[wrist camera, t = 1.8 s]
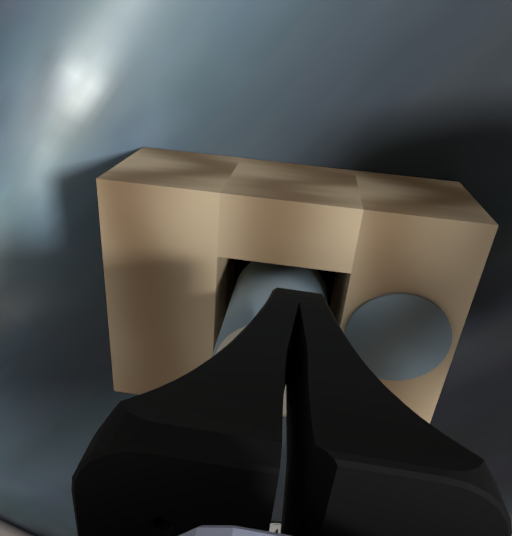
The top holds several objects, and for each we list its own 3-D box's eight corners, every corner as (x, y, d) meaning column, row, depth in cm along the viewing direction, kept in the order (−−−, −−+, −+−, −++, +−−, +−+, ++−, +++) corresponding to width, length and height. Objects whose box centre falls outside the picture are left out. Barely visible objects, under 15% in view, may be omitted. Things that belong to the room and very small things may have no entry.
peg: (333, 260, 19) (338, 332, 15) (320, 338, 21) (319, 424, 16) (238, 248, 19) (212, 315, 15) (232, 327, 21) (208, 408, 17)
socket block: (459, 182, 20) (500, 227, 15) (406, 364, 25) (425, 441, 20) (143, 147, 21) (93, 180, 16) (149, 328, 26) (112, 393, 21)
